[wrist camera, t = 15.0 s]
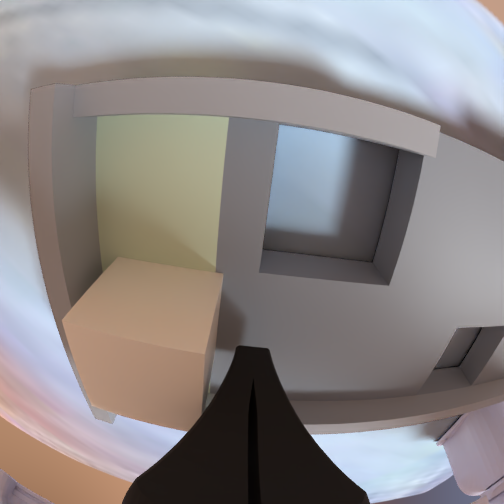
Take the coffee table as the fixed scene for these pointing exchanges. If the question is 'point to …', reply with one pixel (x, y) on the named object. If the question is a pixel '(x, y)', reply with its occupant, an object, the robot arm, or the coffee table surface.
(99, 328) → the block
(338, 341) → the board
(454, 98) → the coffee table surface
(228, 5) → the coffee table surface
